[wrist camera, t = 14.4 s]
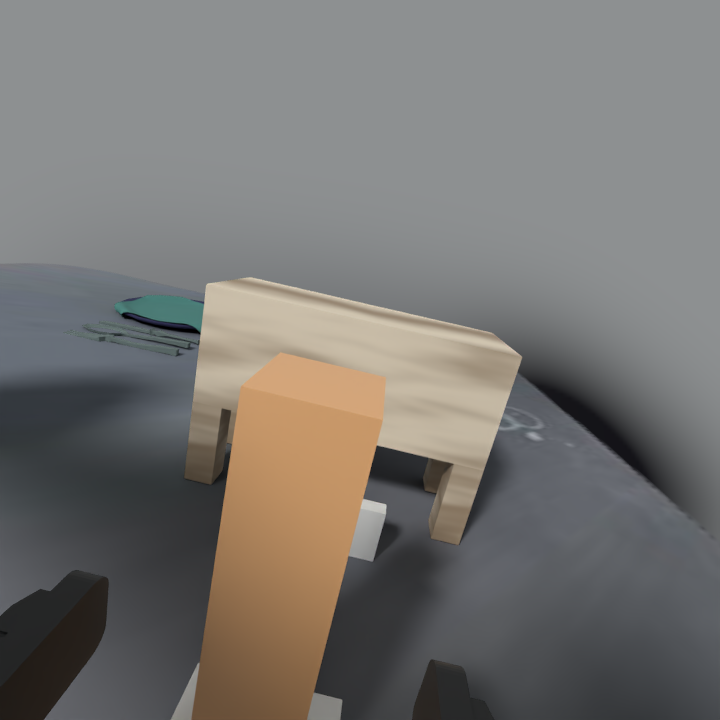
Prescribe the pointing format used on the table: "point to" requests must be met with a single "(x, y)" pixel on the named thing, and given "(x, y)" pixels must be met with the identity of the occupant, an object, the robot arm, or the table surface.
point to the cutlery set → (152, 321)
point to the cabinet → (367, 354)
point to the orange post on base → (287, 539)
